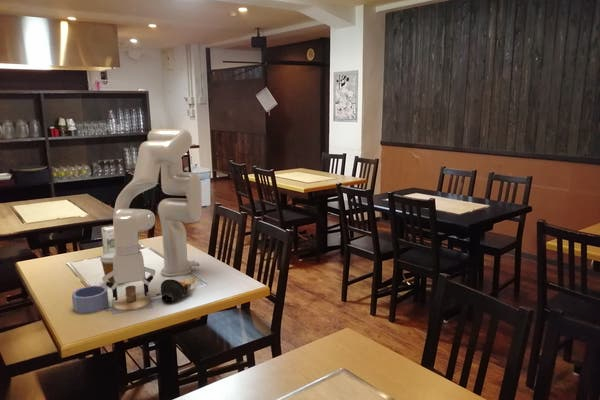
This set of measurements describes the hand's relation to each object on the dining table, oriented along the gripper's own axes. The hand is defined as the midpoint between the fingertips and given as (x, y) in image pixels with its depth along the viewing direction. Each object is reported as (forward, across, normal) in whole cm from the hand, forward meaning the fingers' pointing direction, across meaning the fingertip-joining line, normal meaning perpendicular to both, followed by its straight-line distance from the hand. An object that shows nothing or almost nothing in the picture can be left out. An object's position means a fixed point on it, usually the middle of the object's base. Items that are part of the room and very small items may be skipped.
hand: (131, 296), depth 158 cm
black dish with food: (+3, -17, -1) cm, 17 cm away
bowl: (+3, +13, -3) cm, 14 cm away
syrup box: (+3, +6, -60) cm, 60 cm away
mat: (+3, 0, 0) cm, 3 cm away
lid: (+2, 0, 0) cm, 2 cm away
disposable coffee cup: (+3, +5, -24) cm, 25 cm away
